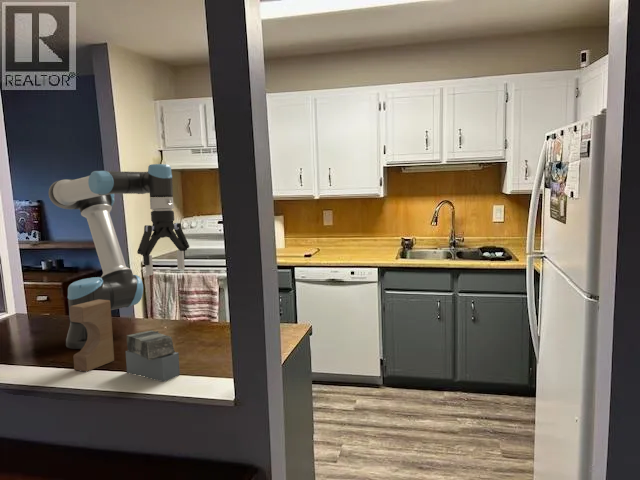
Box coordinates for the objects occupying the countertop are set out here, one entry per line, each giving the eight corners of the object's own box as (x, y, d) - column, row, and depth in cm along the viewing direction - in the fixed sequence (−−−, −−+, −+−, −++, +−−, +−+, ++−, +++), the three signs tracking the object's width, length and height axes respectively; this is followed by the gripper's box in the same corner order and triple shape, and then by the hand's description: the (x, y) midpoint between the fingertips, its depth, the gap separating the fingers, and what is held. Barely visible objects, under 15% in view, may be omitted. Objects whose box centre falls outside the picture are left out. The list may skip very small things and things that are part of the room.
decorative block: (85, 372, 148) (81, 307, 146) (73, 370, 150) (68, 306, 149) (115, 361, 158) (111, 300, 156) (103, 359, 160) (98, 299, 159)
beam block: (126, 373, 147) (125, 351, 146) (143, 367, 152) (142, 345, 151) (163, 383, 138) (162, 358, 138) (179, 376, 143) (178, 352, 143)
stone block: (155, 344, 153) (154, 327, 152) (177, 353, 142) (176, 335, 142) (127, 350, 147) (126, 333, 146) (148, 361, 136) (147, 342, 136)
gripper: (138, 211, 154) (142, 278, 156) (197, 208, 175) (200, 267, 177) (123, 211, 158) (127, 276, 160) (182, 208, 179) (186, 266, 181)
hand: (165, 271), depth 168 cm, fingers open, 13 cm apart
